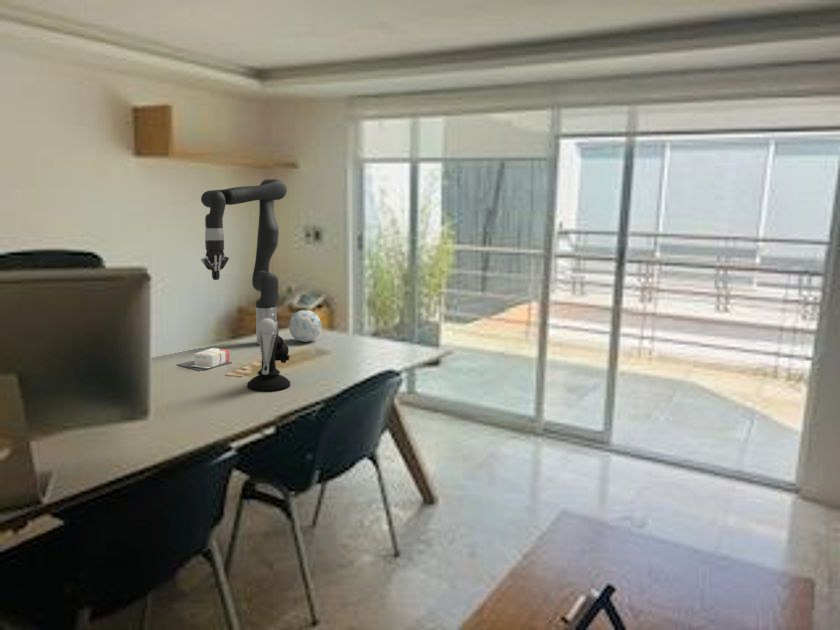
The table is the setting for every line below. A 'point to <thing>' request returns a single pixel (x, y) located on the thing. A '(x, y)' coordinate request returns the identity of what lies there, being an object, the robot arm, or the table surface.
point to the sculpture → (270, 360)
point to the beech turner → (244, 370)
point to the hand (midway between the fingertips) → (215, 279)
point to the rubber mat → (188, 365)
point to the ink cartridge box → (211, 358)
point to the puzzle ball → (305, 326)
